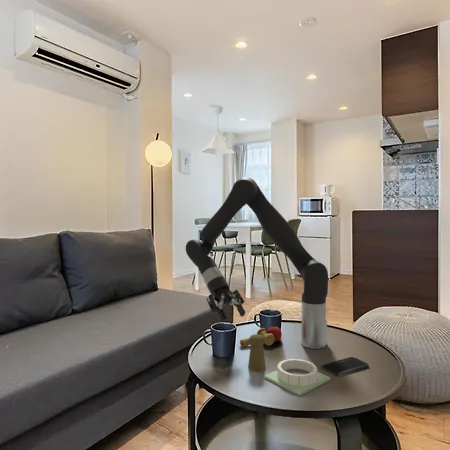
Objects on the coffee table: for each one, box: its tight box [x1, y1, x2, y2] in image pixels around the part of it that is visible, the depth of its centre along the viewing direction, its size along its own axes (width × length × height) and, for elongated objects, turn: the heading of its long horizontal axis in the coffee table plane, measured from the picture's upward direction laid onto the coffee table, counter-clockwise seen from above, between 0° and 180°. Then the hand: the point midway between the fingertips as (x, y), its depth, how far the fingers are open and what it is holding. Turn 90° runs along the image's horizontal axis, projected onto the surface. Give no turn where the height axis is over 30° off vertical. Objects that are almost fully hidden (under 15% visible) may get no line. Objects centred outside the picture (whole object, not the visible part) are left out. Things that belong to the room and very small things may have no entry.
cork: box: [247, 333, 267, 372], centre depth 120 cm, size 6×6×11 cm
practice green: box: [263, 358, 331, 396], centre depth 111 cm, size 15×14×4 cm
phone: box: [321, 356, 370, 377], centre depth 120 cm, size 8×1×15 cm
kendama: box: [239, 326, 283, 348], centre depth 141 cm, size 8×6×18 cm
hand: (234, 317), depth 128 cm, fingers open, 8 cm apart
